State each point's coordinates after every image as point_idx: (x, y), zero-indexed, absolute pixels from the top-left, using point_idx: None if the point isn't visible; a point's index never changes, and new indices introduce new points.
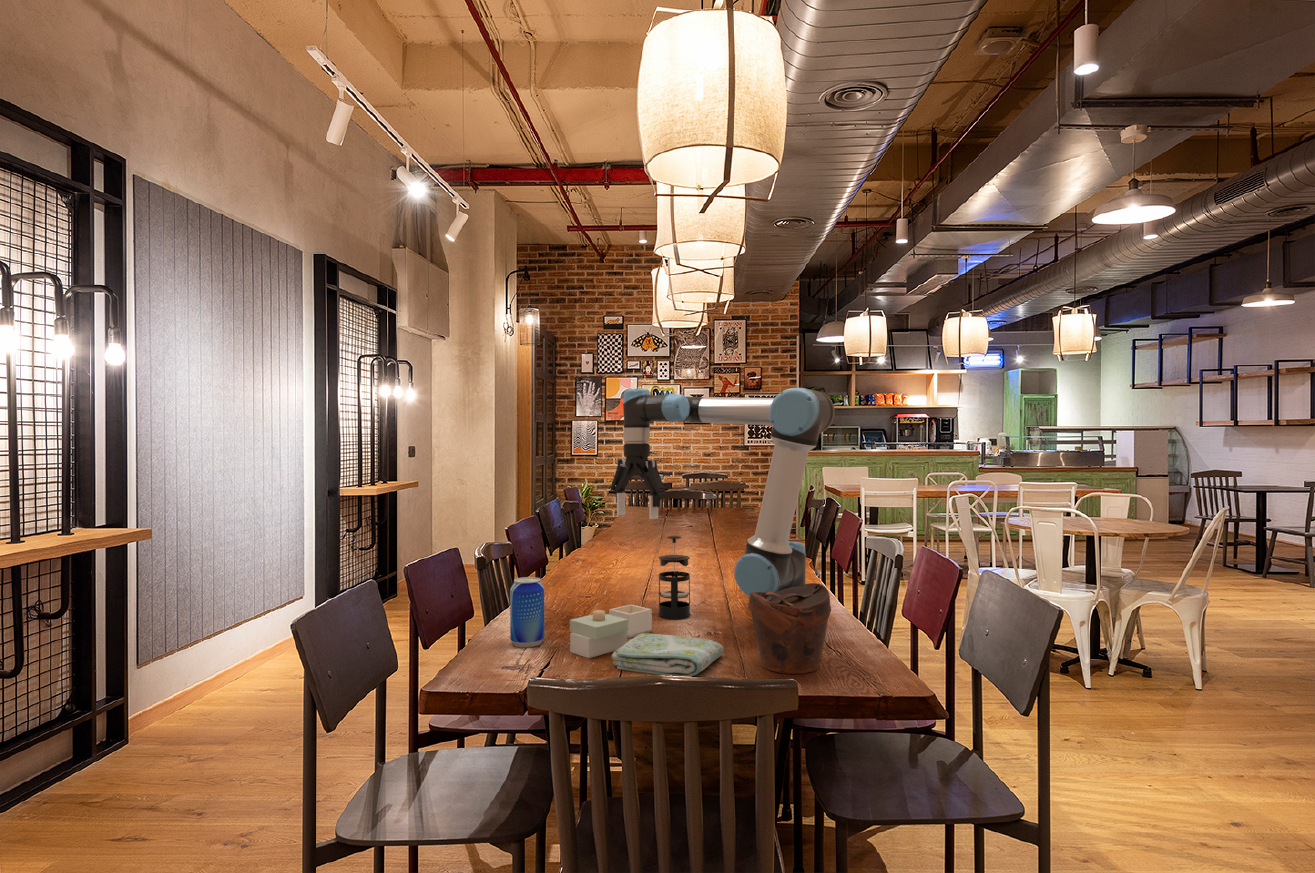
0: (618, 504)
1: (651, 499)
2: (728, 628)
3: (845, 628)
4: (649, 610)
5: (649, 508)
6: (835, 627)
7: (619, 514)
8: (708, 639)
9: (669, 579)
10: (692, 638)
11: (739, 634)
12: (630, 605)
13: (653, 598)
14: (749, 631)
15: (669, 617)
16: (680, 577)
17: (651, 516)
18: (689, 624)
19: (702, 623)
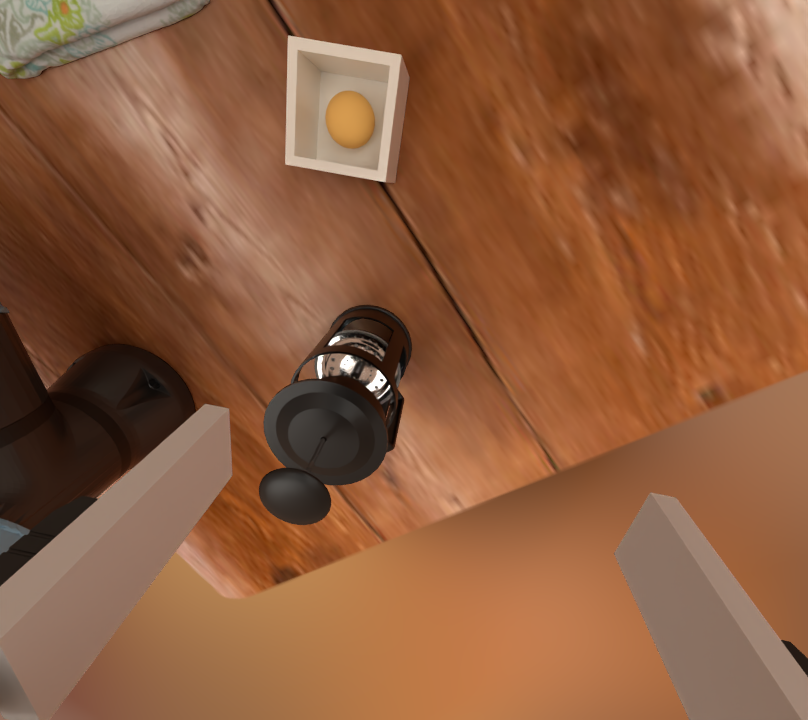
0: (724, 601)
1: (20, 571)
2: (197, 313)
3: None
4: (286, 152)
5: (159, 473)
6: None
7: (650, 507)
8: (4, 44)
9: (324, 349)
10: (35, 17)
11: (144, 282)
12: (378, 167)
13: (519, 460)
14: (148, 317)
15: (355, 309)
16: (295, 372)
17: (190, 419)
18: (286, 294)
19: (269, 319)
